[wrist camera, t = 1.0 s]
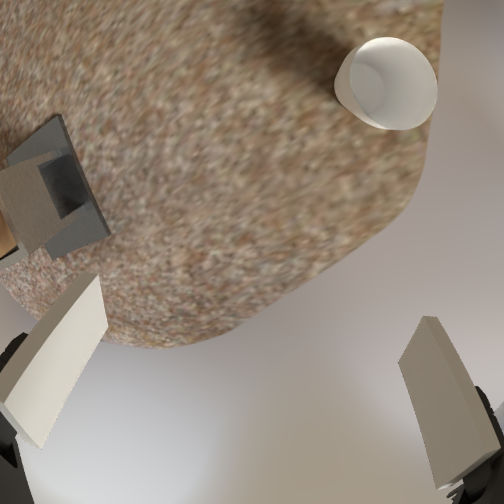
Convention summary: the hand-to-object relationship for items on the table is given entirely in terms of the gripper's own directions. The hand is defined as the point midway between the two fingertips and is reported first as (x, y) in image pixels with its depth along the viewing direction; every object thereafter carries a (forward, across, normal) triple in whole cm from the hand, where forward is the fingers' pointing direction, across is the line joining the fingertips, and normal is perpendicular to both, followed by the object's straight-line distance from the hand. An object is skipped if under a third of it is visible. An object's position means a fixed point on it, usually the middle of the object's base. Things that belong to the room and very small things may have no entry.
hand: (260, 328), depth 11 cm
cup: (+30, +10, +12) cm, 33 cm away
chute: (+29, -33, -6) cm, 44 cm away
